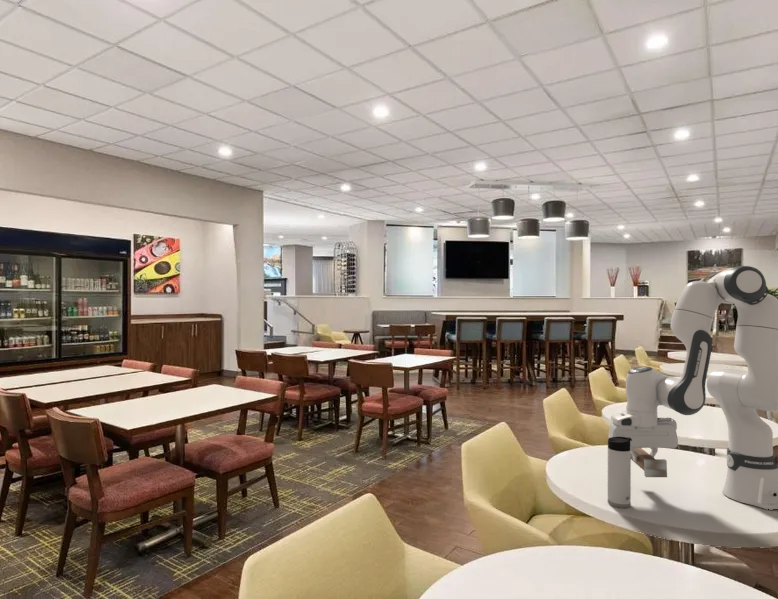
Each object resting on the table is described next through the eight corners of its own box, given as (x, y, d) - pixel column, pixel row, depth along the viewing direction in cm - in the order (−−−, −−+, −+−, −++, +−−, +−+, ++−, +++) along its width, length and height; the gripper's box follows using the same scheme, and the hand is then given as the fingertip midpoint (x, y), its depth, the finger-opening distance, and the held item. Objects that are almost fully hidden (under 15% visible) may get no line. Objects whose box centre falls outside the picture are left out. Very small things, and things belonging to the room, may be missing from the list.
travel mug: (634, 509, 143) (634, 441, 143) (610, 507, 145) (610, 439, 144) (628, 500, 149) (628, 435, 149) (605, 498, 151) (605, 434, 151)
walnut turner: (642, 456, 165) (641, 441, 165) (667, 477, 147) (666, 460, 146) (623, 456, 166) (623, 442, 166) (646, 477, 147) (645, 460, 147)
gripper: (671, 415, 158) (673, 457, 158) (605, 415, 161) (607, 457, 161) (681, 420, 152) (682, 464, 152) (612, 420, 154) (614, 464, 154)
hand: (643, 460), depth 156 cm, fingers closed on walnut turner, 3 cm apart
